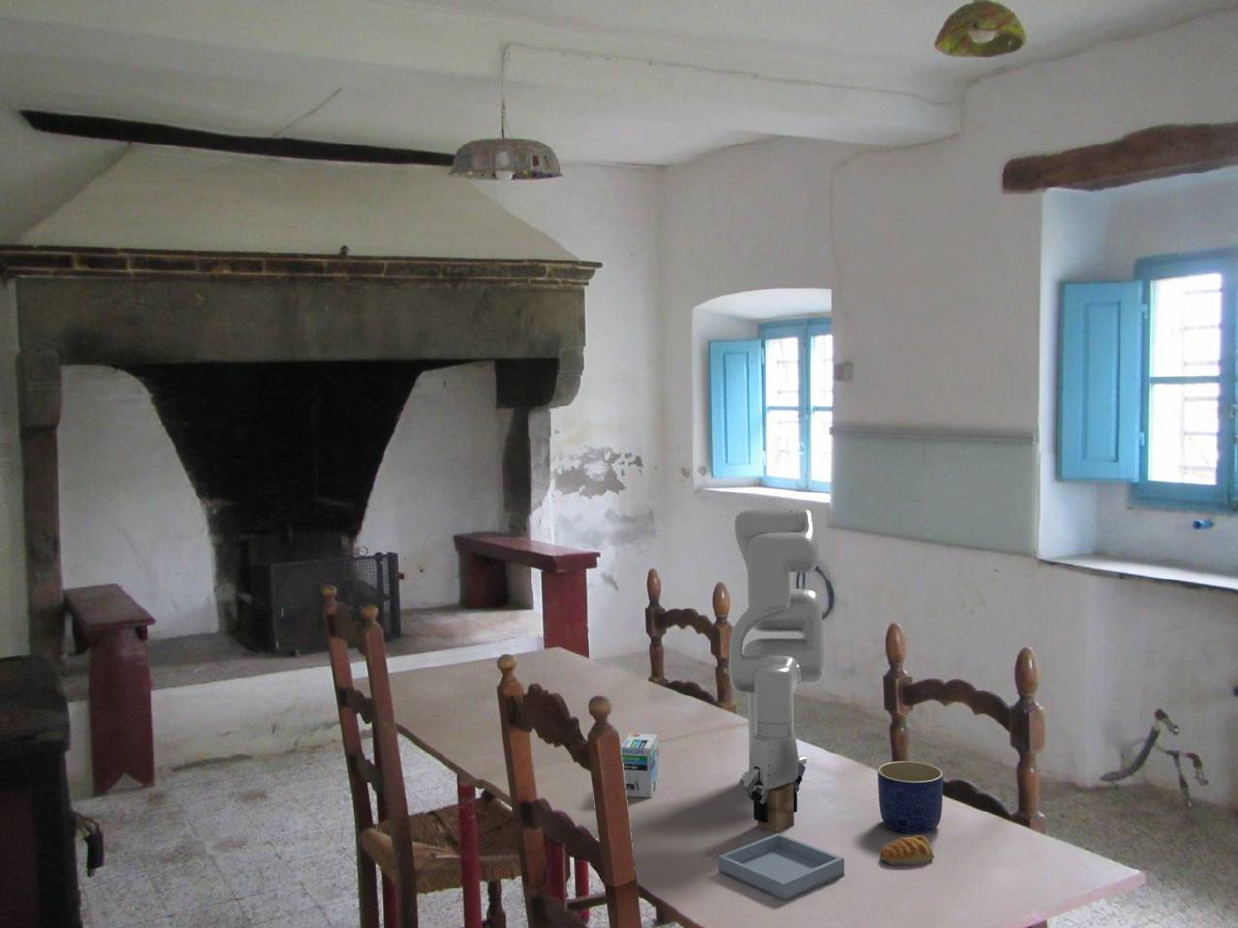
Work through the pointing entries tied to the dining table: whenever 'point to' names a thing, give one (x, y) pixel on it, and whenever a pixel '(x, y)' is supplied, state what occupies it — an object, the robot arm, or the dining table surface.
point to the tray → (781, 866)
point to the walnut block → (779, 808)
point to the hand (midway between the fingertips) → (775, 815)
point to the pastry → (908, 851)
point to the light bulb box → (641, 764)
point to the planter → (910, 796)
